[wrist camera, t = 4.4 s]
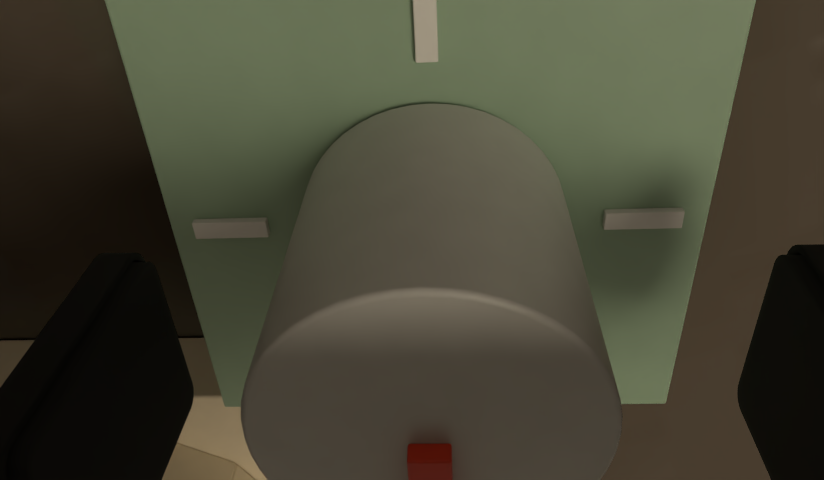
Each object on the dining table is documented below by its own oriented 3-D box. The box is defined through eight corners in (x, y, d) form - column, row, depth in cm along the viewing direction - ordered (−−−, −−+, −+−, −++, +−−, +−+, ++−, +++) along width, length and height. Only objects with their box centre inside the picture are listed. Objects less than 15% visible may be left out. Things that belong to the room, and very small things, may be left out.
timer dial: (285, 106, 12) (192, 312, 7) (575, 96, 11) (657, 305, 7) (321, 322, 14) (269, 567, 10) (556, 319, 14) (606, 569, 10)
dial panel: (155, -89, 13) (82, -50, 10) (709, -117, 12) (781, -83, 10) (253, 321, 19) (222, 413, 16) (635, 315, 18) (668, 410, 15)
